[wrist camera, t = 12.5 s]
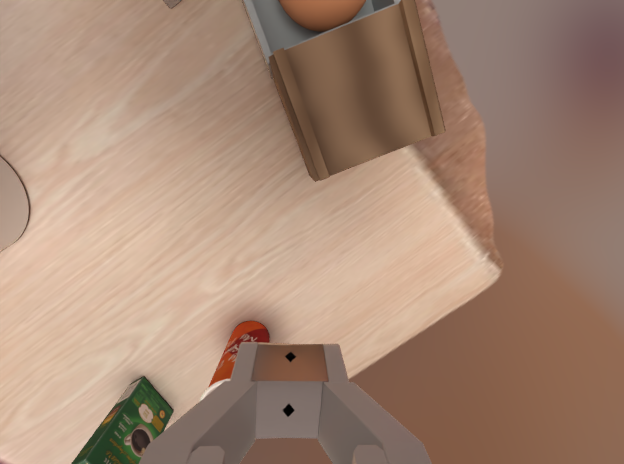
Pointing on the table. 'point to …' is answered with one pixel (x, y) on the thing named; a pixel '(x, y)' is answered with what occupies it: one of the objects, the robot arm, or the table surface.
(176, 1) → the coffee box
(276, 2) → the pale blue storage tray
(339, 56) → the brown wooden grooved block
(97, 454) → the coffee box
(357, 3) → the ball
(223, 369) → the paper cup
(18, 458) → the table surface
